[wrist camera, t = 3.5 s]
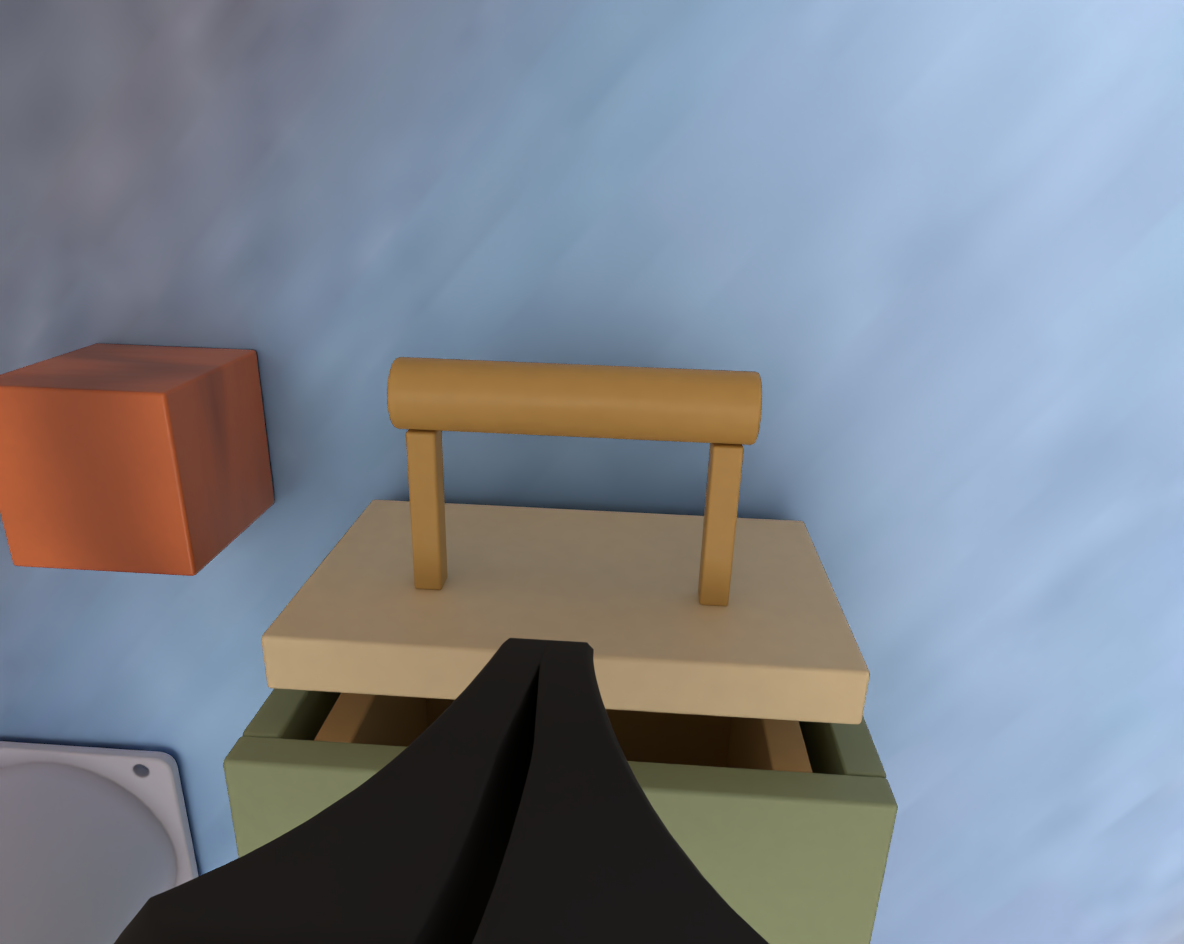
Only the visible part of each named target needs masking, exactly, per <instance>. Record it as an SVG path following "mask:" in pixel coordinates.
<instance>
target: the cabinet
mask: <svg viewBox="0 0 1184 944" xmlns="http://www.w3.org/2000/svg"><path fill="white" fill-rule="evenodd" d="M340 694H341V693H340V692H324V691H308V690H292V689H276V688H274V690H273V691H272V693H271V694H270V695H269V697H268V698H267V700H266V701H265V702H264V704H263V705H262V707H261V708H260V710H259V711H258V712H257V714H256V715H255V717H254V718H253V719H252V721H251V722H250V724H249V725H248V726H247V728H246V729H245V731H244V732H243V737H240V738H239V740H238V741H237V742H236V744H235V745H234V747H233V748H232V749H231V751H230V752H229V754H228V755H227V756H226V758H225V760H224V763H223V765H224V771H225V777H226V783H227V789H228V795H229V801H230V807H231V813H232V819H233V825H234V831H235V837H236V843H237V849H238V855H239V858H240V857H242V856H244V855H246V854H248V853H250V852H252V851H254V850H255V849H257V848H259V847H261V846H263V845H265V844H267V843H269V842H271V841H273V840H274V839H276V838H278V837H280V836H281V835H283V834H285V833H287V832H288V831H290V830H292V829H294V828H295V827H297V826H299V825H301V824H302V823H304V822H306V821H307V820H309V819H311V818H312V817H314V816H315V815H317V814H318V813H320V812H321V811H323V810H324V809H326V808H327V807H329V806H330V805H332V804H333V803H335V802H336V801H338V800H339V799H341V798H342V797H344V796H345V795H347V794H349V793H350V792H352V791H353V790H355V789H356V788H357V787H359V786H360V785H361V784H363V783H364V782H365V781H367V780H368V779H369V778H371V777H372V776H373V775H374V774H376V773H377V772H378V771H379V770H381V769H382V768H383V767H384V766H386V765H387V764H388V763H389V762H391V761H392V760H393V759H394V758H395V757H396V756H398V755H399V754H400V753H401V752H402V751H403V750H404V749H406V748H407V747H406V746H391V745H375V744H360V743H345V742H329V741H314V739H315V737H316V736H317V734H318V732H319V730H320V729H321V727H322V725H323V723H324V722H325V720H326V718H327V716H328V715H329V713H330V711H331V710H332V708H333V706H334V704H335V703H336V701H337V699H338V697H339V696H340ZM799 724H800V728H801V732H802V735H803V739H804V743H805V746H806V750H807V754H808V757H809V761H810V765H811V768H812V772H813V773H806V772H791V771H775V770H760V769H744V768H729V767H714V766H698V765H683V764H668V763H652V762H637V761H627V762H628V764H629V766H630V768H631V770H632V772H633V773H634V775H635V777H636V779H637V781H638V783H639V785H640V786H641V788H642V790H643V792H644V793H645V795H646V797H647V798H648V800H649V802H650V803H651V805H652V807H653V808H654V810H655V811H656V813H657V814H658V816H659V817H660V819H661V820H662V822H663V823H664V825H665V826H666V828H667V829H668V831H669V832H670V834H671V835H672V836H673V838H674V839H675V840H676V842H677V843H678V844H679V846H680V847H681V848H682V849H683V851H684V852H685V853H686V855H687V856H688V857H689V858H690V860H691V861H692V862H693V864H694V865H695V866H696V867H697V869H698V870H699V871H700V873H701V874H702V875H703V877H704V878H705V879H706V880H707V881H708V882H709V883H710V884H711V885H712V887H713V888H714V889H715V890H716V891H717V892H718V893H719V894H720V896H721V897H722V898H723V899H724V900H725V901H726V902H727V903H728V905H729V906H730V907H731V908H732V909H733V910H734V911H735V912H736V913H737V914H738V915H739V916H740V917H742V918H743V919H744V920H745V921H746V922H747V923H748V924H749V925H750V926H751V927H752V928H753V929H754V930H755V931H756V932H757V933H758V934H760V935H761V936H762V937H763V938H764V939H765V940H766V941H767V942H768V943H769V944H870V940H871V935H872V930H873V925H874V921H875V916H876V911H877V906H878V901H879V896H880V891H881V886H882V881H883V877H884V872H885V867H886V862H887V857H888V852H889V847H890V842H891V838H892V833H893V828H894V823H895V818H896V813H897V808H898V806H897V803H896V801H895V798H894V796H893V793H892V790H891V788H890V785H889V783H888V780H887V779H886V773H885V771H884V768H883V766H882V763H881V761H880V758H879V755H878V753H877V750H876V748H875V745H874V743H873V740H872V738H871V735H870V733H869V730H868V727H867V725H866V722H865V720H864V717H863V716H862V721H861V723H860V724H858V725H856V724H840V723H824V722H808V721H799Z"/></svg>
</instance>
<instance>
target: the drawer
mask: <svg viewBox="0 0 1184 944" xmlns="http://www.w3.org/2000/svg"><path fill="white" fill-rule="evenodd" d="M387 404H388V411H389V416H390V419H391V422H392V424H393V426H394V427H396V428H398V429H409V430H408V431H407V432H406V446H407V464H408V481H409V499H410V501H393V500H372V502H371V503H370V504H369V505H368V506H367V508H366V509H365V510H364V511H363V513H362V514H361V515H360V516H359V517H358V519H357V520H356V521H355V522H354V524H353V525H352V526H351V527H350V529H349V530H348V531H347V532H346V533H345V535H344V536H343V537H342V538H341V540H340V541H339V542H338V543H337V544H336V546H335V547H334V548H333V549H332V551H331V552H330V553H329V554H328V556H327V557H326V558H325V559H324V560H323V562H322V563H321V564H320V565H319V567H318V568H317V569H316V570H315V571H314V573H313V574H312V575H311V576H310V578H309V579H308V580H307V581H306V583H305V584H304V585H303V586H302V587H301V589H300V590H299V591H298V592H297V594H296V595H295V596H294V597H293V599H292V600H291V601H290V602H289V603H288V605H287V606H286V607H285V608H284V610H283V611H282V612H281V613H280V614H279V616H278V617H277V618H276V619H275V621H274V622H273V623H272V624H271V626H270V627H269V628H268V629H267V630H266V632H265V633H264V634H263V635H262V647H263V655H264V662H265V669H266V677H267V684H268V687H270V688H276V689H292V690H308V691H324V692H340V693H341V694H340V696H339V697H338V699H337V701H336V703H335V704H334V706H333V708H332V710H331V711H330V713H329V715H328V716H327V718H326V720H325V722H324V723H323V725H322V727H321V729H320V730H319V732H318V734H317V736H316V737H315V739H314V741H329V742H345V743H360V744H375V745H391V746H406V747H408V746H409V745H410V744H411V743H412V742H413V741H414V740H415V739H416V738H417V737H418V736H419V735H421V734H422V733H423V732H424V731H425V730H426V729H427V728H428V727H429V726H430V725H431V724H432V723H433V722H434V721H435V720H436V719H437V718H438V717H439V716H440V715H441V714H442V713H443V712H444V711H445V710H446V709H447V708H448V707H449V706H450V705H451V704H452V703H453V702H454V700H455V699H456V698H457V697H458V696H459V695H460V694H461V693H462V692H463V691H464V690H465V689H466V687H467V686H468V685H469V684H470V683H471V682H472V681H473V679H474V678H475V677H476V676H477V675H478V674H479V672H480V671H481V670H482V669H483V668H484V666H485V665H486V664H487V663H488V662H489V660H490V659H491V658H492V657H493V655H494V654H495V653H496V651H497V650H498V649H499V648H500V646H501V645H502V644H503V643H504V642H505V641H506V640H508V639H509V638H523V639H540V640H557V641H574V642H587V643H588V644H589V645H590V646H591V647H592V648H593V649H594V655H593V662H594V669H595V674H596V679H597V683H598V687H599V691H600V694H601V697H602V701H603V704H604V707H605V709H606V712H607V715H608V717H609V720H610V723H611V725H612V728H613V731H614V733H615V735H616V738H617V740H618V742H619V745H620V747H621V749H622V751H623V753H624V755H625V757H626V760H627V761H637V762H652V763H668V764H683V765H698V766H714V767H729V768H744V769H760V770H775V771H791V772H806V773H813V772H812V768H811V765H810V761H809V757H808V754H807V750H806V746H805V743H804V739H803V735H802V732H801V728H800V724H799V721H808V722H824V723H840V724H856V725H858V724H860V723H861V721H862V716H863V710H864V704H865V699H866V693H867V687H868V682H869V676H870V673H869V670H868V668H867V665H866V663H865V661H864V658H863V656H862V654H861V652H860V649H859V647H858V645H857V643H856V640H855V638H854V636H853V633H852V631H851V629H850V627H849V624H848V622H847V620H846V618H845V615H844V613H843V611H842V608H841V606H840V604H839V602H838V599H837V597H836V595H835V592H834V590H833V588H832V586H831V583H830V581H829V579H828V577H827V574H826V572H825V570H824V567H823V565H822V563H821V561H820V558H819V556H818V554H817V552H816V549H815V547H814V545H813V542H812V540H811V538H810V536H809V533H808V531H807V529H806V526H805V524H804V522H802V521H793V520H773V519H753V518H737V512H738V502H739V492H740V482H741V472H742V462H743V452H744V449H743V446H742V444H744V445H752V444H754V443H755V442H756V440H757V437H758V433H759V428H760V421H761V410H762V385H761V378H760V375H759V373H757V372H750V371H725V370H701V369H677V368H653V367H629V366H605V365H580V364H556V363H532V362H508V361H484V360H460V359H435V358H411V357H399V358H396V359H395V360H394V362H393V364H392V366H391V369H390V373H389V378H388V386H387ZM442 431H460V432H482V433H504V434H526V435H548V436H570V437H591V438H613V439H635V440H657V441H679V442H701V443H710V452H709V464H708V476H707V488H706V500H705V512H704V516H693V515H673V514H653V513H633V512H613V511H593V510H573V509H553V508H533V507H513V506H493V505H473V504H453V503H445V500H444V476H443V451H442Z"/></svg>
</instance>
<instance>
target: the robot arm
mask: <svg viewBox="0 0 1184 944" xmlns="http://www.w3.org/2000/svg"><path fill="white" fill-rule="evenodd" d="M593 655H594V649H593V648H592V647H591V646H590V645H589V644H588V643H587V642H574V641H557V640H540V639H523V638H509V639H508V640H506V641H505V642H504V643H503V644H502V645H501V646H500V648H499V649H498V650H497V651H496V653H495V654H494V655H493V657H492V658H491V659H490V660H489V662H488V663H487V664H486V665H485V666H484V668H483V669H482V670H481V671H480V672H479V674H478V675H477V676H476V677H475V678H474V679H473V681H472V682H471V683H470V684H469V685H468V686H467V687H466V689H465V690H464V691H463V692H462V693H461V694H460V695H459V696H458V697H457V698H456V699H455V700H454V702H453V703H452V704H451V705H450V706H449V707H448V708H447V709H446V710H445V711H444V712H443V713H442V714H441V715H440V716H439V717H438V718H437V719H436V720H435V721H434V722H433V723H432V724H431V725H430V726H429V727H428V728H427V729H426V730H425V731H424V732H423V733H422V734H421V735H419V736H418V737H417V738H416V739H415V740H414V741H413V742H412V743H411V744H410V745H409V746H408V747H407V748H406V749H404V750H403V751H402V752H401V753H400V754H399V755H398V756H396V757H395V758H394V759H393V760H392V761H391V762H389V763H388V764H387V765H386V766H384V767H383V768H382V769H381V770H379V771H378V772H377V773H376V774H374V775H373V776H372V777H371V778H369V779H368V780H367V781H365V782H364V783H363V784H361V785H360V786H359V787H357V788H356V789H355V790H353V791H352V792H350V793H349V794H347V795H345V796H344V797H342V798H341V799H339V800H338V801H336V802H335V803H333V804H332V805H330V806H329V807H327V808H326V809H324V810H323V811H321V812H320V813H318V814H317V815H315V816H314V817H312V818H311V819H309V820H307V821H306V822H304V823H302V824H301V825H299V826H297V827H295V828H294V829H292V830H290V831H288V832H287V833H285V834H283V835H281V836H280V837H278V838H276V839H274V840H273V841H271V842H269V843H267V844H265V845H263V846H261V847H259V848H257V849H255V850H254V851H252V852H250V853H248V854H246V855H244V856H242V857H240V858H238V859H236V860H234V861H232V862H230V863H228V864H226V865H224V866H221V867H219V868H217V869H215V870H212V871H210V872H208V873H206V874H203V875H201V876H199V875H198V870H197V865H196V860H195V854H194V849H193V844H192V839H191V834H190V828H189V823H188V818H187V813H186V808H185V802H184V797H183V792H182V787H181V781H180V776H179V771H178V766H177V763H176V761H175V759H174V758H173V757H172V756H171V755H169V754H167V753H164V752H157V751H142V750H127V749H112V748H97V747H81V746H66V745H51V744H36V743H21V742H6V741H0V944H769V943H768V942H767V941H766V940H765V939H764V938H763V937H762V936H761V935H760V934H758V933H757V932H756V931H755V930H754V929H753V928H752V927H751V926H750V925H749V924H748V923H747V922H746V921H745V920H744V919H743V918H742V917H740V916H739V915H738V914H737V913H736V912H735V911H734V910H733V909H732V908H731V907H730V906H729V905H728V903H727V902H726V901H725V900H724V899H723V898H722V897H721V896H720V894H719V893H718V892H717V891H716V890H715V889H714V888H713V887H712V885H711V884H710V883H709V882H708V881H707V880H706V879H705V878H704V877H703V875H702V874H701V873H700V871H699V870H698V869H697V867H696V866H695V865H694V864H693V862H692V861H691V860H690V858H689V857H688V856H687V855H686V853H685V852H684V851H683V849H682V848H681V847H680V846H679V844H678V843H677V842H676V840H675V839H674V838H673V836H672V835H671V834H670V832H669V831H668V829H667V828H666V826H665V825H664V823H663V822H662V820H661V819H660V817H659V816H658V814H657V813H656V811H655V810H654V808H653V807H652V805H651V803H650V802H649V800H648V798H647V797H646V795H645V793H644V792H643V790H642V788H641V786H640V785H639V783H638V781H637V779H636V777H635V775H634V773H633V772H632V770H631V768H630V766H629V764H628V762H627V760H626V757H625V755H624V753H623V751H622V749H621V747H620V745H619V742H618V740H617V738H616V735H615V733H614V731H613V728H612V725H611V723H610V720H609V717H608V715H607V712H606V709H605V707H604V704H603V701H602V697H601V694H600V691H599V687H598V683H597V679H596V674H595V669H594V662H593ZM142 765H144V766H146V767H147V768H145V767H144V766H142Z"/></svg>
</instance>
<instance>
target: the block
mask: <svg viewBox="0 0 1184 944" xmlns="http://www.w3.org/2000/svg"><path fill="white" fill-rule="evenodd" d="M273 504H274V493H273V485H272V477H271V469H270V460H269V452H268V444H267V436H266V428H265V419H264V411H263V403H262V395H261V386H260V378H259V370H258V362H257V354H256V351H254V350H243V349H219V348H195V347H170V346H146V345H122V344H98V343H96V344H93V345H90V346H87V347H84V348H81V349H78V350H75V351H72V352H69V353H66V354H63V355H60V356H57V357H53V358H50V359H47V360H44V361H41V362H38V363H35V364H32V365H29V366H26V367H23V368H20V369H17V370H14V371H11V372H7V373H4V374H1V375H0V513H1V517H2V521H3V525H4V529H5V533H6V537H7V541H8V545H9V549H10V553H11V556H12V560H13V564H14V565H15V566H26V567H44V568H62V569H80V570H98V571H116V572H134V573H152V574H170V575H188V576H193V575H196V574H197V573H198V572H199V571H200V570H201V569H203V568H204V567H205V566H206V565H207V564H208V563H209V562H210V561H211V560H212V559H214V558H215V557H216V556H217V555H218V554H219V553H220V552H221V551H222V550H223V549H225V548H226V547H227V546H228V545H229V544H230V543H231V542H232V541H233V540H234V539H235V538H237V537H238V536H239V535H240V534H241V533H242V532H243V531H244V530H245V529H246V528H248V527H249V526H250V525H251V524H252V523H253V522H254V521H255V520H256V519H257V518H259V517H260V516H261V515H262V514H263V513H264V512H265V511H266V510H267V509H268V508H270V507H271V506H272V505H273Z"/></svg>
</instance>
